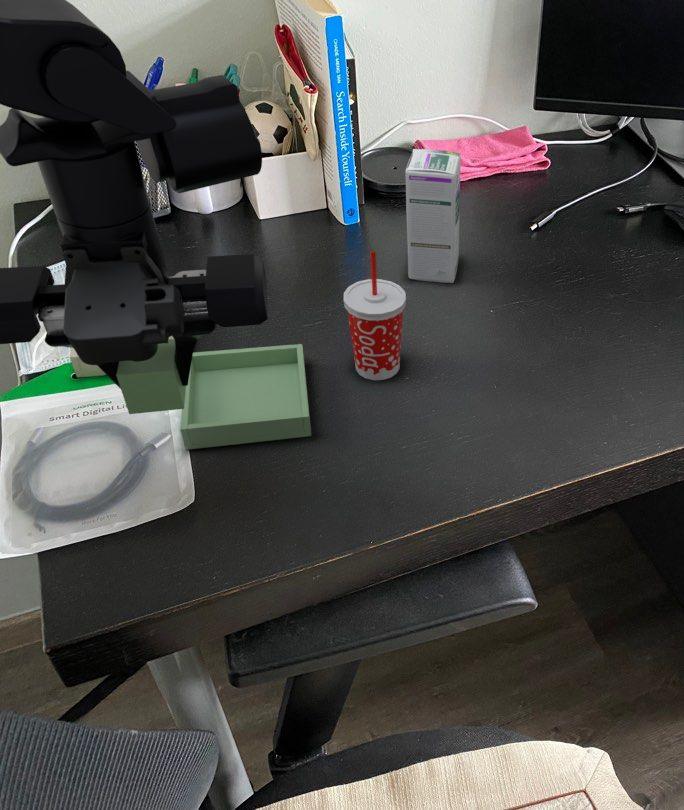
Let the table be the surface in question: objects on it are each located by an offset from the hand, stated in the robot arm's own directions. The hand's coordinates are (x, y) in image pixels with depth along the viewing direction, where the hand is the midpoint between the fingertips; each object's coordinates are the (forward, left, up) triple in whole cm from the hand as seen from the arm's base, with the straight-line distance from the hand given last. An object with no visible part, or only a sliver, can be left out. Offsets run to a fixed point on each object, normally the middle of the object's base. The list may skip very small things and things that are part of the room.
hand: (156, 385), depth 65 cm
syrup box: (+28, +32, -12) cm, 44 cm away
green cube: (0, 0, -1) cm, 1 cm away
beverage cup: (+19, +14, -12) cm, 26 cm away
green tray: (+6, +10, -11) cm, 16 cm away
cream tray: (-5, +22, -11) cm, 25 cm away
